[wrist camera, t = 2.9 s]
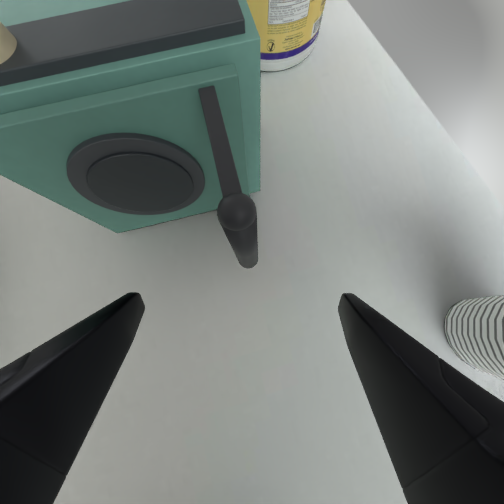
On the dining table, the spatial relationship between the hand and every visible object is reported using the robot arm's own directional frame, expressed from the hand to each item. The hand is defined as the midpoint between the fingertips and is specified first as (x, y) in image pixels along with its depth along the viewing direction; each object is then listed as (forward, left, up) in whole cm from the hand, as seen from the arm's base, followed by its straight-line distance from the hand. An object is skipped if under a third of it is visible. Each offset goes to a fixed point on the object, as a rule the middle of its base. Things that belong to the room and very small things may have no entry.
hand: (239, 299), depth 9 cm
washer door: (+7, +5, -10) cm, 13 cm away
